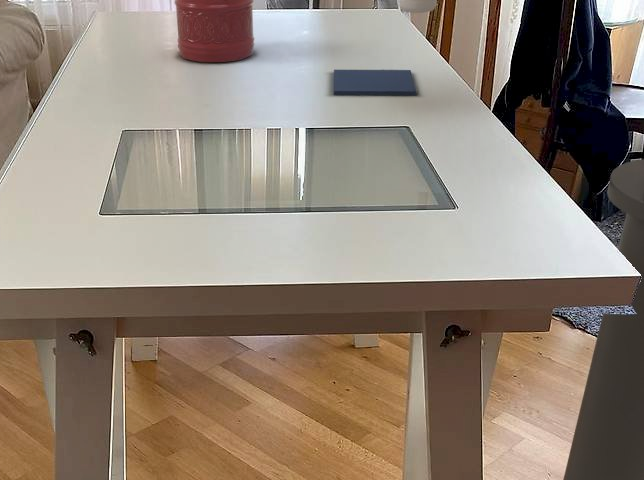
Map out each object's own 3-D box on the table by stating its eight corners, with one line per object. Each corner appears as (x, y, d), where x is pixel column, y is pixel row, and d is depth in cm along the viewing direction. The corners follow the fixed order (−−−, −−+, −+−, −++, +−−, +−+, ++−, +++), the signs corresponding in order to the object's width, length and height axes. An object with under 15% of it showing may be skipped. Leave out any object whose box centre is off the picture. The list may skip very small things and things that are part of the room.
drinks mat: (410, 73, 132) (410, 69, 132) (416, 95, 122) (416, 91, 122) (333, 73, 132) (333, 69, 132) (333, 94, 123) (333, 90, 122)
